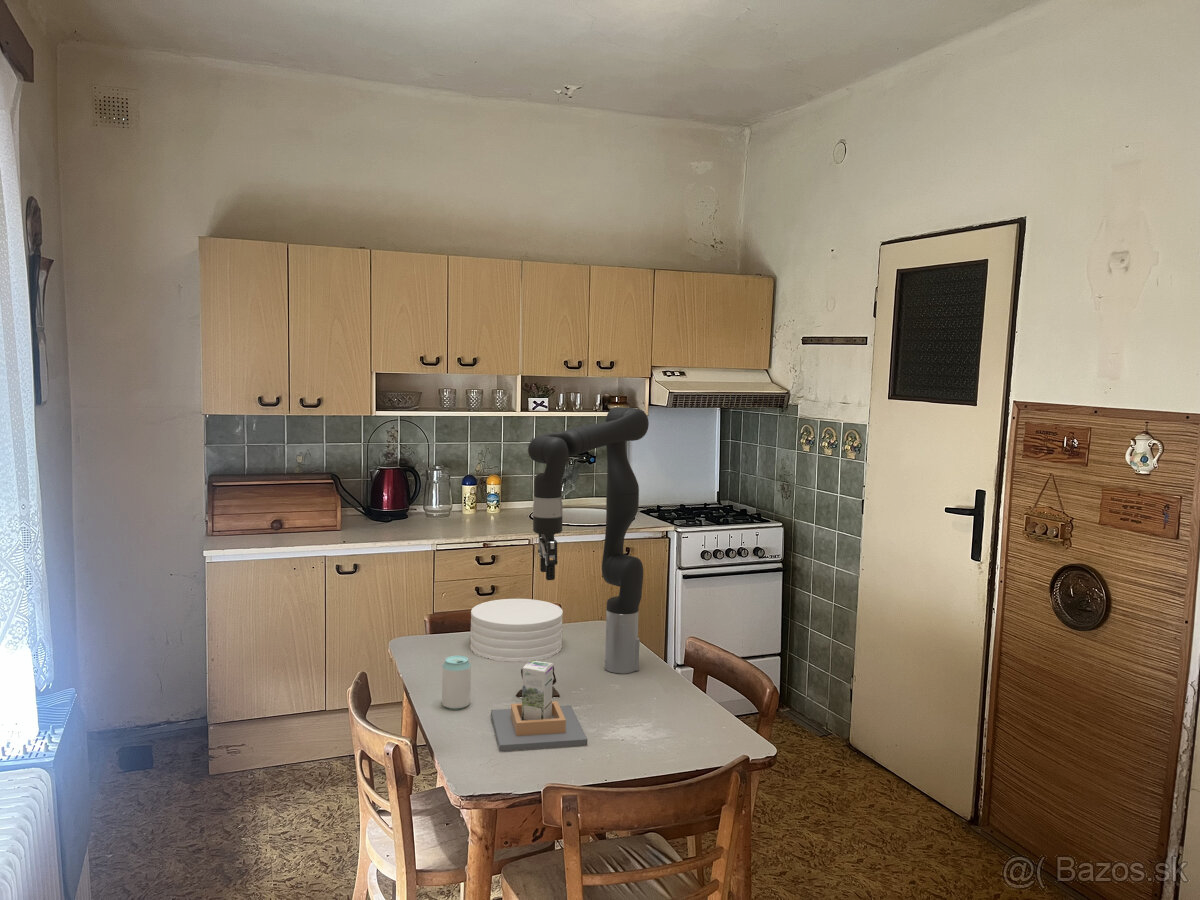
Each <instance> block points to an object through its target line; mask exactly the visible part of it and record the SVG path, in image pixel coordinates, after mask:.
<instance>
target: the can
mask: <svg viewBox="0 0 1200 900" xmlns="http://www.w3.org/2000/svg"><path fill="white" fill-rule="evenodd" d="M444 660H445V661H444V662H443V664H442V674H441V675H442V680H441V681H442V682H441V683H442V684H441V689H442V690H441V694H442V695H441V705H443V706H444V707H445V708H446V707H447V708H446V709H448V708H450V709H449V710H454V709H456V710H461V709H460V708H462V709H465V708H467V706H469V705H470V704H471V691H472V690H471V686H472V685H471V679H472V678H471V677H472V664H471V662H469V658H468V657H467V656H464V655H451V656H450V655H449V656H447V657H446V658H445V659H444ZM464 707H465V708H464Z"/></svg>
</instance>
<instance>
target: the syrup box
mask: <svg viewBox="0 0 1200 900" xmlns="http://www.w3.org/2000/svg"><path fill="white" fill-rule="evenodd" d="M553 666H554V663H552V662H545V661H540V660H536V661H533V660H531V661H528V662H526V664H525V665H524V666H523V667H522V669H523V680H522V681H521V682H522V684H521V686H522V688H521V689H522V698H521V700H522V701H521V703H522V721H525V720H540V719H552V701H553V698H552V686H553V685H552V683H553V680H554V676H553Z"/></svg>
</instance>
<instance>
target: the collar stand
mask: <svg viewBox="0 0 1200 900" xmlns="http://www.w3.org/2000/svg"><path fill="white" fill-rule="evenodd" d="M491 717H492V718H491ZM490 718H491V722H492V726H493V731H494V730H495V731H494V734H496V735H495V738H496V739H495V740H496V742H497V746H498V747H497V748H498V750H499V751H504V752H516V751H515V750H518V751H529V750H531V749H532V750H541V749H543V750H544V748H546V749H556V748H557V747H559V748H560V749H561V748H571V747H573V748H574V747H585V746H588V738H587V736H586V733H585V731H584V729H583V728H582V727H583V726H582V724H581V723H580V721H579V719H578V717H577V715H576V713H575V710H574V708H573V707H572V705H571V704H570V705H569V704H568V705H560V704H559V702H558V700H555V701H553V700H552V719H540V720H525V721H522V702H521V703H510V708H502V709H500V708H499V709H491V710H490ZM559 748H557V749H559Z"/></svg>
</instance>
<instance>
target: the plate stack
mask: <svg viewBox="0 0 1200 900" xmlns="http://www.w3.org/2000/svg"><path fill="white" fill-rule="evenodd" d="M563 612H564V611H563V609H562V608H561V606H559V605H556V604H554V603H552V602H549V601H545V600H539V599H532V598H531V599H530V598H504V599H501V598H500V599H495V600H489V601H485V602H482V603H479V604H477V605H475V606H473V607H472V609H471V610H470V617H471V618H470V650H471V649H472V650H471V652H472V651H473V652H475V653H476V654H478V655H480V656H483V657H486V658H489V659H488V660H490V659H494V660H493V661H495V660H501V661H500V662H504V661H528V662H530V661H531V660H536V661H540V660H539V659H541V660H544V659H543V658H545V659H548V658H547V657H549V658H551V657H550V656H552V655H554V654H556V653H557V654H559V653H560V652H561V651H560V650H562V649H561V648H563V647H562V645H563V644H562V641H563V616H564V615H563ZM559 651H560V652H559ZM473 652H472V653H473ZM558 652H559V653H558ZM475 653H474V654H475ZM476 654H475V655H476ZM557 654H556V655H557ZM478 655H477V656H478ZM480 656H479V657H480ZM554 656H555V655H554ZM483 657H482V658H483ZM552 657H553V656H552ZM486 658H485V659H486Z"/></svg>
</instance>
